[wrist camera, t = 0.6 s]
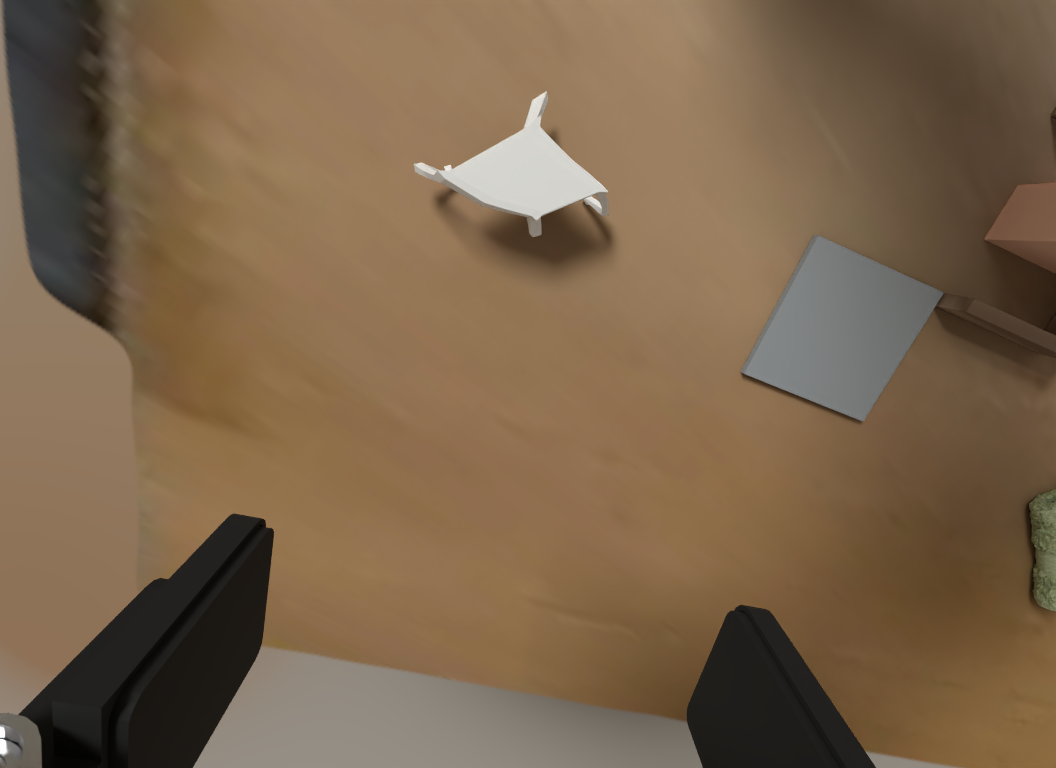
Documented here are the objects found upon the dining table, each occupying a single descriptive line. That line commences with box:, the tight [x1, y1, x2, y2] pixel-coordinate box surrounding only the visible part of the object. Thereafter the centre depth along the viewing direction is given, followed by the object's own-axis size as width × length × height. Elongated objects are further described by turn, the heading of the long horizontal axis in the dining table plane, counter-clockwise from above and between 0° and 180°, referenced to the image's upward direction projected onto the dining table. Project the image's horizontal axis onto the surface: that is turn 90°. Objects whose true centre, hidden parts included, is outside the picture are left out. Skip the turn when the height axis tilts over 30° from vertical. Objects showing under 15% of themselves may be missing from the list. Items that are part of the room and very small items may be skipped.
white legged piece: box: [414, 91, 609, 237], centre depth 33 cm, size 12×8×5 cm
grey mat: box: [741, 235, 943, 421], centre depth 39 cm, size 11×11×1 cm
